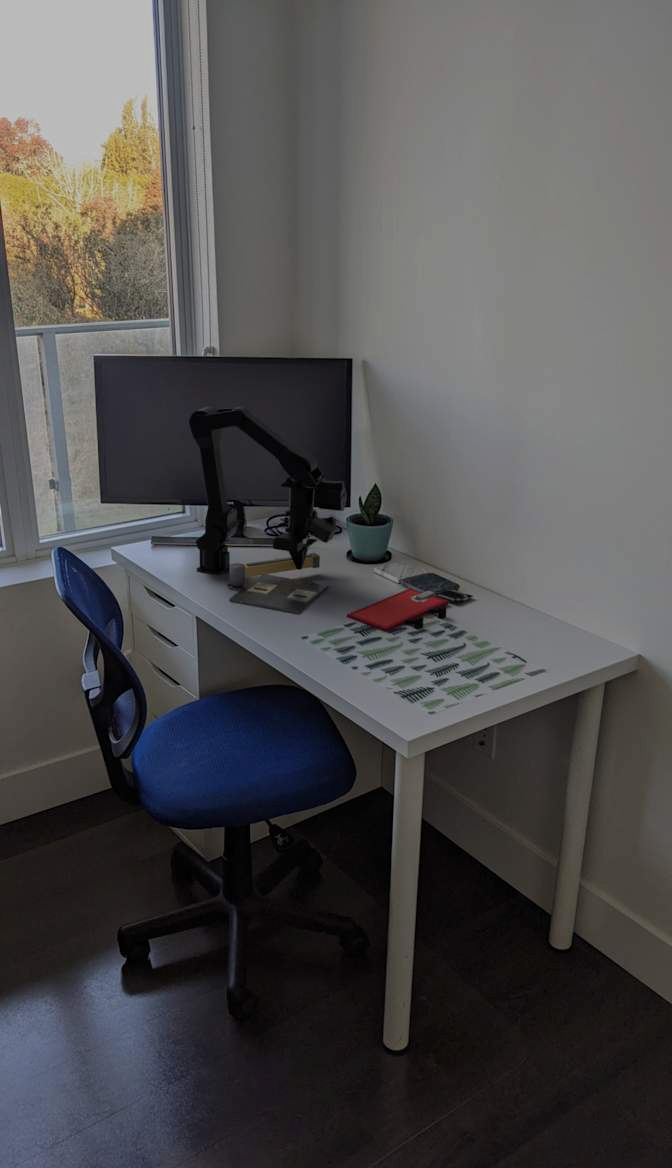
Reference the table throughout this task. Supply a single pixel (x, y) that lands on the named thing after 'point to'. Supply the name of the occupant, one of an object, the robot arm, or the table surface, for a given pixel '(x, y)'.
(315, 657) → the table surface
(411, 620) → the red board with handle
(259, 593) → the panel
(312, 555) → the swing arm
